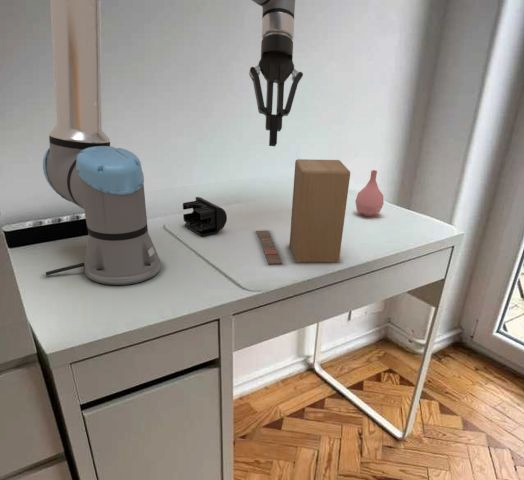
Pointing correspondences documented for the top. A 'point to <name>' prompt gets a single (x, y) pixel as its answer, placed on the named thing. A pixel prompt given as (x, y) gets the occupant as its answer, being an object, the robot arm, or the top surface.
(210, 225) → the end cap
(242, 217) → the top surface
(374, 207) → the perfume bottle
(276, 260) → the ruler
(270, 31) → the robot arm
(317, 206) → the wooden block
